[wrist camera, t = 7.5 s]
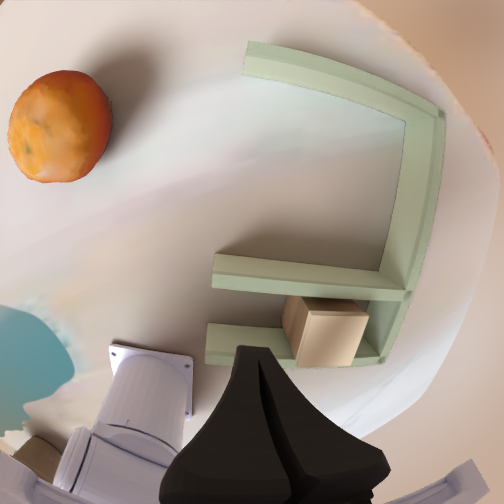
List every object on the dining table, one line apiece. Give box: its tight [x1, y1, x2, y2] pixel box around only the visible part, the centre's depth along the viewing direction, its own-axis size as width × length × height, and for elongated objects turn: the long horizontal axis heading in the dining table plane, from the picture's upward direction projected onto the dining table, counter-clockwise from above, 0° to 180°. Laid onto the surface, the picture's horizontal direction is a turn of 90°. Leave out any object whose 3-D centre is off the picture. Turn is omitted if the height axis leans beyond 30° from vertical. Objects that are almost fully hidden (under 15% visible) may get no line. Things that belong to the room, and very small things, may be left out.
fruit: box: [8, 70, 112, 183], centre depth 13 cm, size 8×8×8 cm
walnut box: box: [281, 295, 369, 368], centre depth 19 cm, size 4×4×6 cm
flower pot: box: [9, 436, 61, 485], centre depth 23 cm, size 12×11×10 cm
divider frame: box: [204, 41, 446, 369], centre depth 18 cm, size 21×15×4 cm
